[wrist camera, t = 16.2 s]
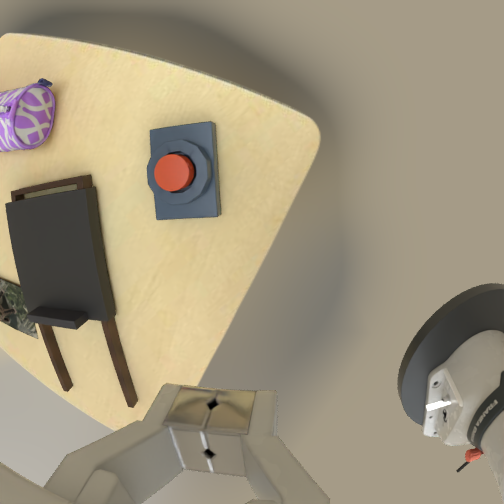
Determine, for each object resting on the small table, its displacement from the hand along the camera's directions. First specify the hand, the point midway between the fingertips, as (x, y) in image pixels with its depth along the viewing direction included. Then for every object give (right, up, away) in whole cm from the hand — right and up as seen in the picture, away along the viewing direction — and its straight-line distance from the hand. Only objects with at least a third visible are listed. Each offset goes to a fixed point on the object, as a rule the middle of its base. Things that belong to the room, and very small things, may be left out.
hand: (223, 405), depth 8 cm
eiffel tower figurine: (-43, -5, +36) cm, 56 cm away
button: (-7, +12, +23) cm, 26 cm away
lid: (-26, +4, +31) cm, 40 cm away
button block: (-6, +13, +26) cm, 29 cm away
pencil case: (-35, +24, +26) cm, 50 cm away
